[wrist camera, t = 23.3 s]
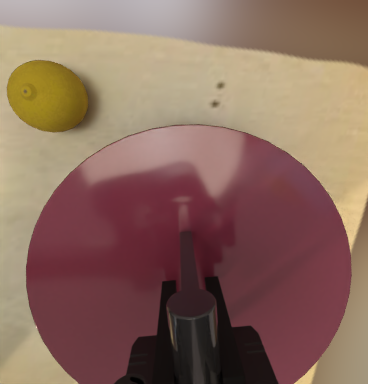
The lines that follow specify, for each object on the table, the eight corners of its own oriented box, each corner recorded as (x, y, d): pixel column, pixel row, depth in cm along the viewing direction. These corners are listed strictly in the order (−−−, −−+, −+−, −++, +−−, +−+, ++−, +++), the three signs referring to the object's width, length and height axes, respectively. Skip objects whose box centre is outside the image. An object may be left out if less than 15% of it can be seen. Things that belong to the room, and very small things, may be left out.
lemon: (55, 60, 26) (3, 30, 18) (108, 92, 27) (80, 76, 19) (30, 113, 27) (-29, 106, 19) (82, 142, 28) (45, 147, 20)
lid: (66, 416, 20) (-21, 639, 11) (3, 141, 16) (-213, 154, 7) (336, 390, 20) (460, 591, 11) (345, 109, 16) (554, 83, 7)
